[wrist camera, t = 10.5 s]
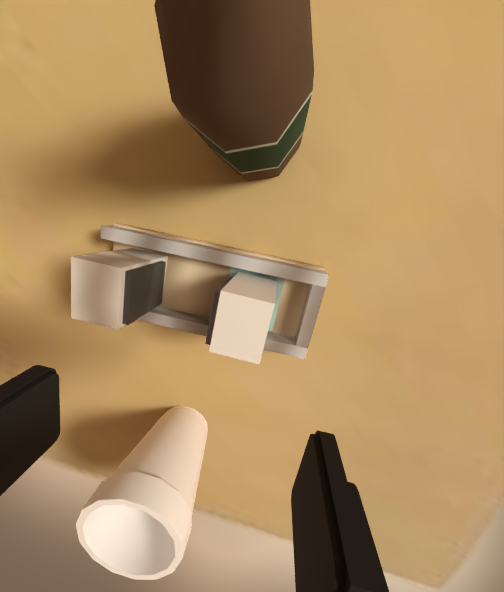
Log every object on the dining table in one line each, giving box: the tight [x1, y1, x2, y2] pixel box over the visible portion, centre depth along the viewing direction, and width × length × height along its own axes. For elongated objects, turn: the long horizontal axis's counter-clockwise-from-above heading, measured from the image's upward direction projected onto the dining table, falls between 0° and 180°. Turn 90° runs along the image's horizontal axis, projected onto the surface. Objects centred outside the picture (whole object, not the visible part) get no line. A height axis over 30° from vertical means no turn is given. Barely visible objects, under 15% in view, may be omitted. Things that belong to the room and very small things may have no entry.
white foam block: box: [205, 272, 277, 364], centre depth 23 cm, size 4×5×8 cm
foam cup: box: [76, 406, 208, 580], centre depth 28 cm, size 10×9×13 cm
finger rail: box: [71, 224, 329, 359], centre depth 24 cm, size 22×9×10 cm, turn 79°
